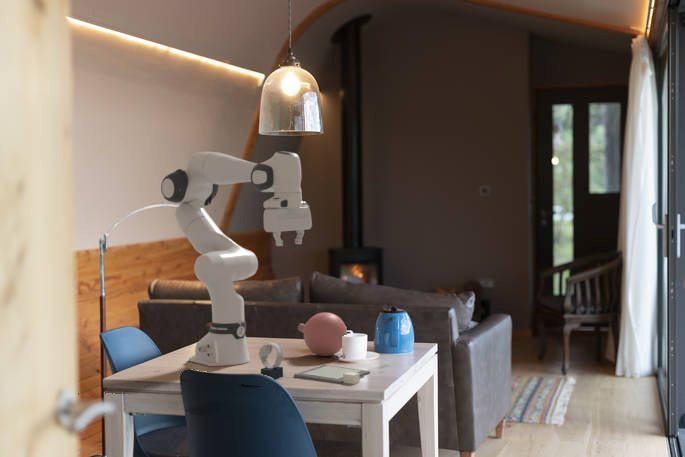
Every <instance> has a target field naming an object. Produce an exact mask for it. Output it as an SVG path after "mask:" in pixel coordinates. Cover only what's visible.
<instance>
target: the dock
mask: <svg viewBox="0 0 685 457" xmlns="http://www.w3.org/2000/svg"><path fill="white" fill-rule="evenodd" d="M370 374H371V371H369V370H365V369H364V370H363V369H357V368H351V367H343V366H334V365H329V364H322V365H320V366H317V367H314V368H310V369H308V370H304V371H300V372H298V373H297V372H296V373H294V374H293V378H296V379H298V378H299V379H304V380H311V381H319V382H325V383H332V384H333V383H334V384H351V385H355V384H359V383H360V382H361V380H360V379H363V378H365V376H367V375H370Z"/></svg>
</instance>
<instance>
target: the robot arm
mask: <svg viewBox="0 0 685 457" xmlns="http://www.w3.org/2000/svg"><path fill="white" fill-rule="evenodd" d="M300 159H301V158H300V156H299V154H297V153H296V152H293V151H286V150H285V151H284V150H280V151H276V152H275V153H274V154H273V156H271V158H269V159H267V160H265V161H263V162H260V163H256V162H252V161H248V160H246V159H242V158H240V157H239V158H238V157H235V156H233V155H229V154H225V153H222V152H218V151H217V152H215V151H200V152H199V151H198V152H196V153H193V154H192V155H191V156H190V158H189V160H188V162H187V168H185V169H181V168H178V169H177V170H175V171H173V172H171V173H169V174H167V175H166V176H164V178H163V179H162V182H161V184H160V185H161V186H160V190H161V193H162V195H163V196H162V197H163V198H164V199H165V200H166V201H167V202H170V203H176V204H178V203H179V205H178V206H177V207H176V209H175V212H174V216H175V220H176V222H177V223H178V226H179V227H180V229H181V232H182V233H183V234H184V236H185V238H187V240H188V242H189V243H190V244H191V246H192V247H193V248H194V250H195V251H196V252H197V253H199V254H200V255H199V256H198V257H197V259H196V260H195V261H194V267H193V268H194V274H195V276H196V278H197V279H198V280H199V281H200V282H201V283H202V284H203V285H204V286H205V288H206V290H207V292H208V294H209V297H210V303H211V313H212V314H211V316H212V318H211V319H212V321H211V322H208V323H206V325H207V326H206V327H207V328H209V329H208V333H206V334H205V335H204V336H203V337H202V338H201V339H200V340H199V341H198V342H196V344H195V350H194V352H195V353H194V354H193V355H192V356H190V357H188V361H189V362H192V363H196V364H200V365H204V366H207V367H219V366H221V367H222V366H223V367H224V366H236V365H243V364H246V363H249V362H250V361H251V358H250V354H249V350H248V344H247V343H248V342H247V337H246V331H247V327H246V326H247V323H246V320H245V300H244V297H243V296H242V295H240V294H239V293H237V292H236V290H235V287H234V282H237V281H243V280H247V279H248V278H250V277H252V276H254V275H255V274H256V273H257V271H258V269H259V268H258V267H259V261H258V257H257V256H256V254H255V253H254V252H253V251H252V250H249V249H247V248H244V247H242V246H241V245H240V244H237V243H236V242H235V241H233V240H232V239H231V238H230V237H228V236H227V235H226V234H225V233H223V231H222V230H221V229H220V228H219V226H218V225H217V223H215V222H214V220H213V218H212V217H211V216H210V215H209V213H208V212H207V210H206V209H205V206H208V205H210V204H211V203H212V202H213V200H214V198H215V197H216V196H217V193H218V191H219V187H220V186H219V185H221V186H223V185H232V184H240V183H251V184H252V187H253V188H254V189H255V190H256V191H258V192H262V193H274V194H273V196H272V197H269V199H266V200H265V201H264V202H263V208H264V211H263V229H264V231H265V232H266V233H272V236H273V238H274V240H275V246H276V247H283V246H284V240H283V239H282V238H281V235H282V232H290V231H296V234H297V235H296V238H294V244H295V245H302V243H303V237H304V234H305V230H311V228H312V227H313V223H312V214H311V213H312V212H311V209H310V205H309V204H308V203H307V201H303V195H302V194H303V193H302V192H303V191H302V188H301V182H302V164H301V160H300Z"/></svg>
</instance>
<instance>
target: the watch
mask: <svg viewBox="0 0 685 457" xmlns="http://www.w3.org/2000/svg"><path fill="white" fill-rule="evenodd" d="M273 349H275V351H276V353H277V355H276V358H275V362H274V363H273V365H271V364H270V363H269V361H268V357H269V356H270V354H271V353H272V352H273ZM258 355H259V360H260V362H261V364H262V365H263V366H264V367H262V368H260V375H261V374H263V375H267V376H270V377H272V378H274V380H277V379H280V378H279V377H281V378H284V367H282V366H281V363H282V362H283V358H284V356H283V350H282V348H281V345H279V344H278V343H276V342H266V343H264V344H263V345H262V346H261V347H260V348H259V351H258ZM276 378H277V379H276Z"/></svg>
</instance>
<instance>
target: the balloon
mask: <svg viewBox="0 0 685 457" xmlns="http://www.w3.org/2000/svg"><path fill="white" fill-rule="evenodd" d="M297 329H298V331H299V332H301V333H302V334H303V340H304V342H305V345H306V347H307V348H308V349H309V350H310V352H312V353H314V354H315V355H318V356H321V357H330V356H333V355H335V354H337V353H339V352H340V351H341V350H342V349H343V348H342V336H344V335H347V336H348V329H347V326H346V324H345V322H344V321H343V320H342V318H340V316H338V315H337V314H335V313H332V312H324V311H323V312H319V313H316V314H314V315H313V316H311V317H310V318H309V319H308V321H307V322H305V324H304V323H301V322H300V323H299V324H298V325H297Z"/></svg>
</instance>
